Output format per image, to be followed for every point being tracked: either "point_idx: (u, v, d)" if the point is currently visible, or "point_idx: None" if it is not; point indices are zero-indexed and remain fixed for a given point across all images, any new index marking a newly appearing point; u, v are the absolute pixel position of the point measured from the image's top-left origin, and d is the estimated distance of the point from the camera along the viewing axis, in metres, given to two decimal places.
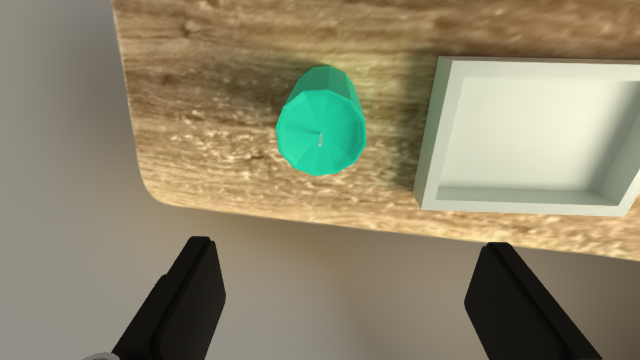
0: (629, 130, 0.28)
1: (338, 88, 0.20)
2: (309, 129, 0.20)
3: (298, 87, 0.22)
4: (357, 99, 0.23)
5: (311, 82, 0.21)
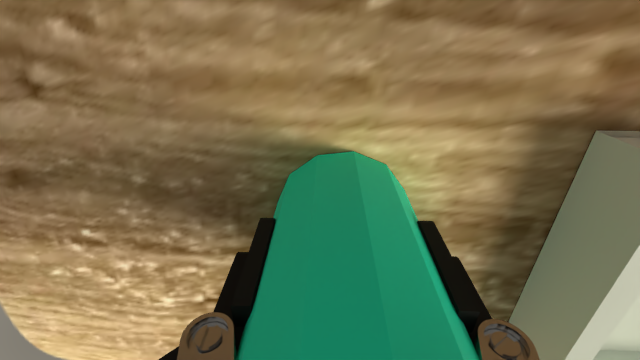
0: None
1: None
2: None
3: (281, 284, 0.07)
4: None
5: (322, 299, 0.06)
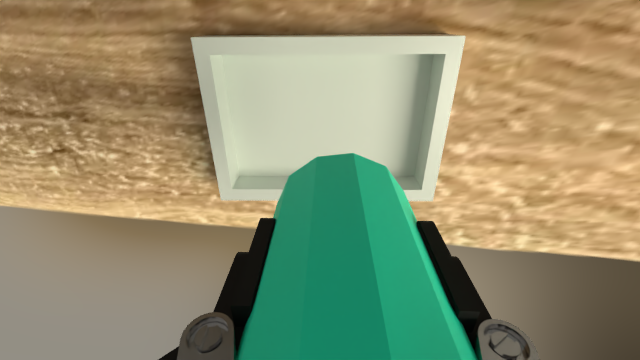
0: (424, 109, 0.27)
1: None
2: None
3: (279, 287, 0.07)
4: None
5: (321, 302, 0.06)
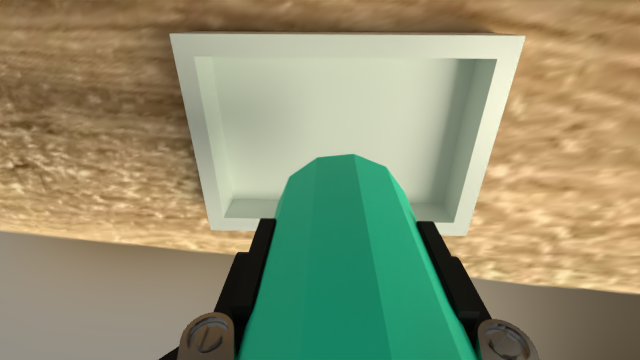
0: (460, 125, 0.22)
1: None
2: None
3: (280, 289, 0.07)
4: None
5: (321, 304, 0.06)
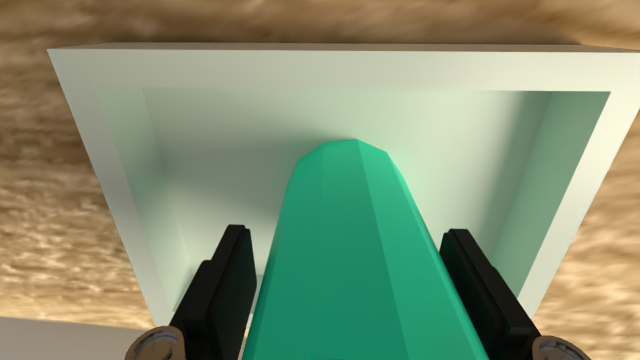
0: (519, 181, 0.15)
1: (421, 297, 0.06)
2: None
3: (297, 243, 0.08)
4: (439, 255, 0.09)
5: (333, 250, 0.07)
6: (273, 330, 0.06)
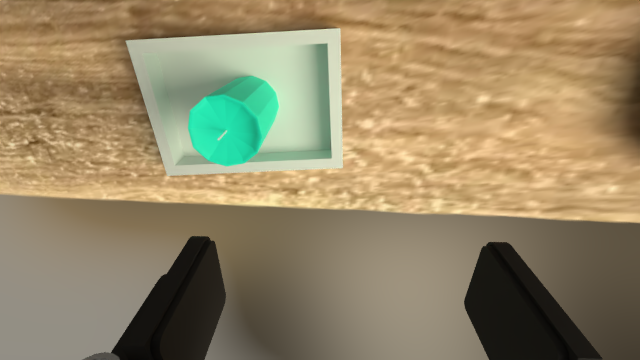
0: (328, 91, 0.32)
1: (237, 93, 0.24)
2: (216, 127, 0.24)
3: None
4: (265, 102, 0.27)
5: (219, 90, 0.25)
6: None
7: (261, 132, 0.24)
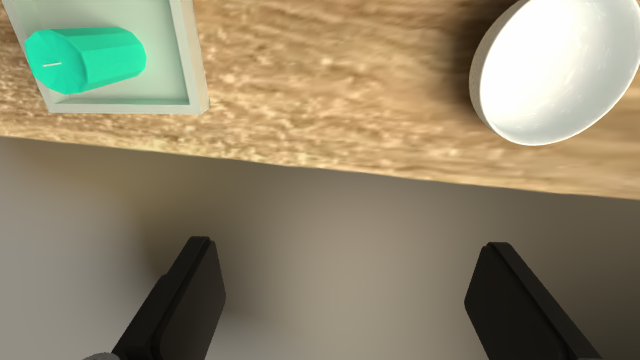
0: None
1: (70, 31, 0.29)
2: (51, 59, 0.29)
3: None
4: (109, 45, 0.32)
5: None
6: None
7: (87, 65, 0.29)
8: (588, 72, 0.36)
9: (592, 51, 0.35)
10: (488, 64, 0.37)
